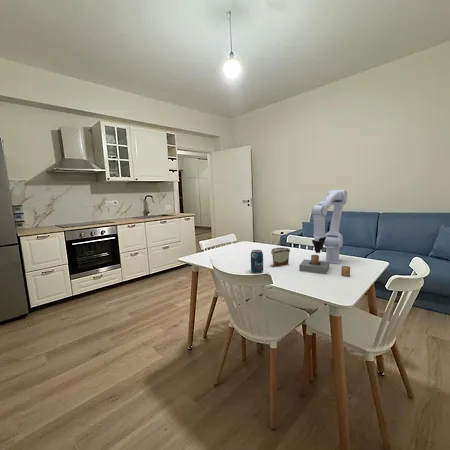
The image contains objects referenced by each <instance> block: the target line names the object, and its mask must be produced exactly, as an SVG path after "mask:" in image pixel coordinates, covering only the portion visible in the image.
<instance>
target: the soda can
mask: <svg viewBox="0 0 450 450" xmlns="http://www.w3.org/2000/svg"><path fill="white" fill-rule="evenodd" d="M250 270H251V272H252V273H253V274H260V273H263V271H264V253H263V251H262V250H261V249H252V250H251V253H250Z"/></svg>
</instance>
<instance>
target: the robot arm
mask: <svg viewBox="0 0 450 450" xmlns="http://www.w3.org/2000/svg"><path fill="white" fill-rule="evenodd" d="M347 200H348V191H347V189H329V190H328V191H327V196H326V198H322V199H321V201H320V202H318V204H316V205H314V206H312V208H311V214H312V219H313V236H312V237H313V238H314V239H312V240H311V242H312V245H313V247H314V252H315V254H320V253H321V251H323V249H324V247H325V248H326V251H325V252H326V253H325V260H324V261H326V262H330V264H336V265H339V264H340V263H341V259H340V249H341V248H342V247H343V244H344V239H343V238H344V237H343V235H342V233H340V232H339V231H340V226H341V225H340V224H341V220H342V215H343V208H344V206H345V205H347ZM331 206H333V210H332V217H331V222H330V229H329V231H327V232H326V216H327V214H328V211H329V209H330V207H331Z"/></svg>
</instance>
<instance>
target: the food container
mask: <svg viewBox="0 0 450 450" xmlns="http://www.w3.org/2000/svg"><path fill="white" fill-rule="evenodd" d="M290 252H291V250H290V248H289V247H274V248H272V249H271V250H270V254H272V255H271V256H272V264H273V267H274V268H279V267H285V266H289V264H290V263H289V260H290Z"/></svg>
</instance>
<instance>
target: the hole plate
mask: <svg viewBox="0 0 450 450" xmlns="http://www.w3.org/2000/svg"><path fill="white" fill-rule="evenodd" d="M330 265H331V263H330V262H326V261H325V260H319V265H312V264H311V259H303V260H302V261H301V263H299V267H298V268H299V270H298V271H299V272H306V273H314V274H321V275H327V274H328V272H329V270H330V267H331V266H330Z"/></svg>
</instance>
